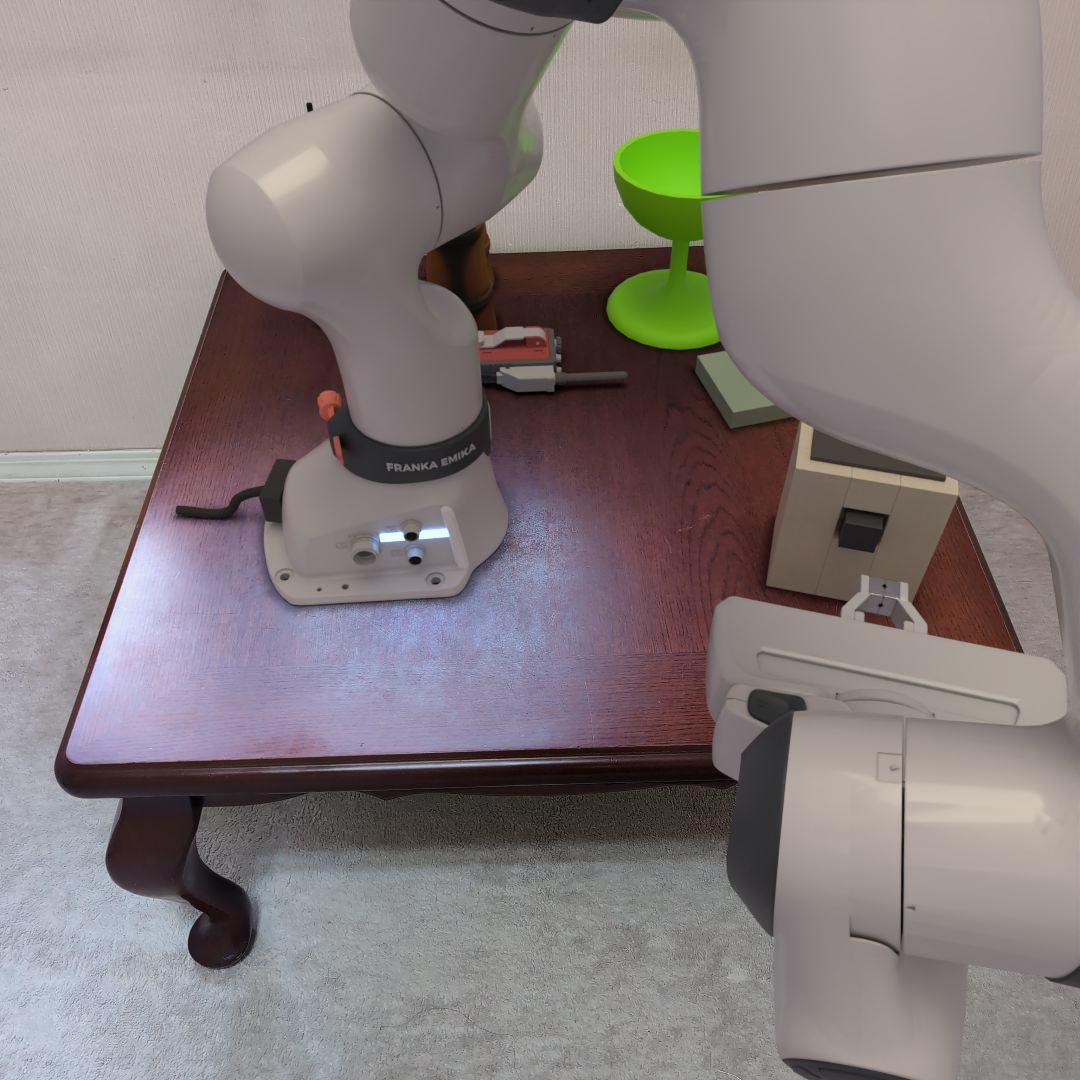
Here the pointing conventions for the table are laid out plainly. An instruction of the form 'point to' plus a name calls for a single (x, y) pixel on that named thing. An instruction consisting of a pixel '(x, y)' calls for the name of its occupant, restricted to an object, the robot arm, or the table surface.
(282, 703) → the table surface
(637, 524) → the table surface
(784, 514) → the beige box
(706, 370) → the switch box
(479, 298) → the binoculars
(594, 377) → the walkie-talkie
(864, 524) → the power button
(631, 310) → the wineglass
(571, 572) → the table surface
